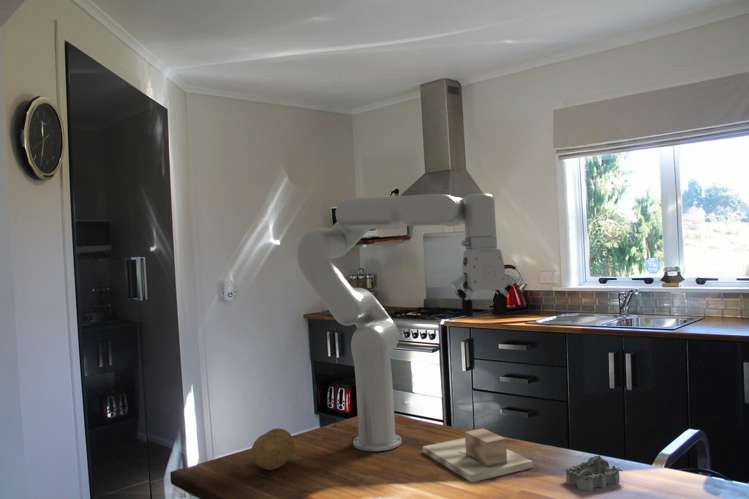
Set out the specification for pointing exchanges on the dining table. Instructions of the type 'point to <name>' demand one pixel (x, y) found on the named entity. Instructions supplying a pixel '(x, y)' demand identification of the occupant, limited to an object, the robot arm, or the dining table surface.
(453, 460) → the board
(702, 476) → the dining table surface
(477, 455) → the block
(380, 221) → the robot arm
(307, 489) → the dining table surface
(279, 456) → the potato
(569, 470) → the egg carton
